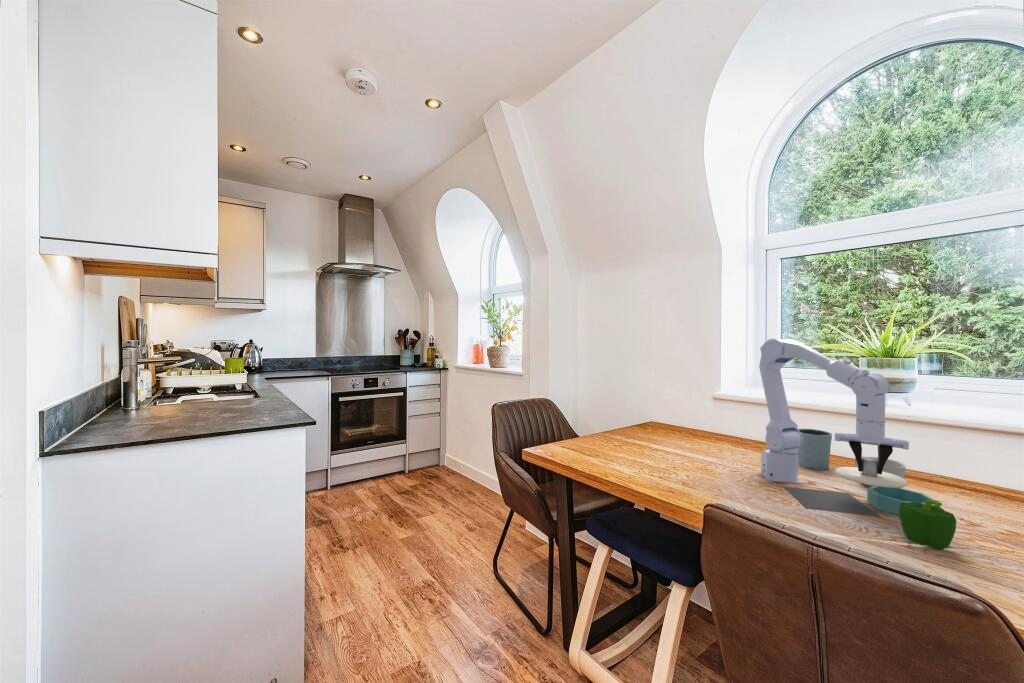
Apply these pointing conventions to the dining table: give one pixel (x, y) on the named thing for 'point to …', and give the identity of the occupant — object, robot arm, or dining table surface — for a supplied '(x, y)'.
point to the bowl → (893, 498)
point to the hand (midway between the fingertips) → (869, 472)
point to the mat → (830, 501)
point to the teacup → (890, 467)
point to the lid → (871, 475)
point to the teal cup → (815, 449)
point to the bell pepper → (927, 523)
